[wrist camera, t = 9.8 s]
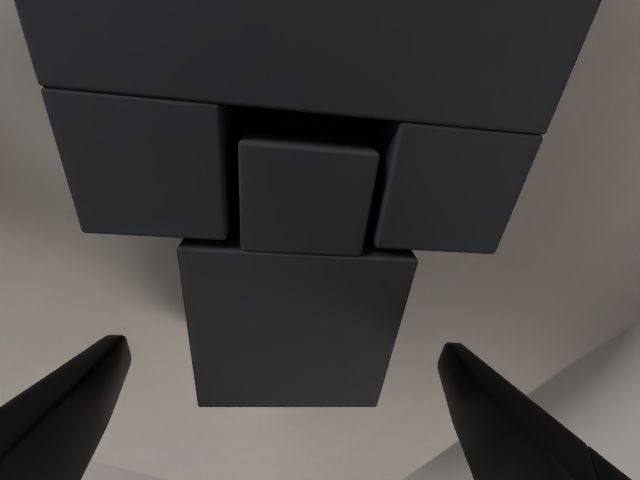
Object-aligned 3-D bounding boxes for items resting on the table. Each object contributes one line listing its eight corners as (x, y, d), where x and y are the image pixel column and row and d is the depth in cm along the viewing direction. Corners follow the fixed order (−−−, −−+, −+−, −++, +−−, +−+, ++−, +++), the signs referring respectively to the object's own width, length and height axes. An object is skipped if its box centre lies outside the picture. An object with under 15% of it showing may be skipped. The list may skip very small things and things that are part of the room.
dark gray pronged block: (596, -270, 6) (828, -534, 3) (447, 210, 11) (495, 255, 8) (29, -409, 5) (-265, -934, 2) (139, 189, 10) (80, 234, 7)
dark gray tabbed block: (406, 134, 9) (448, 159, 7) (361, 341, 13) (377, 407, 11) (200, 115, 9) (159, 134, 6) (218, 338, 13) (197, 407, 10)
